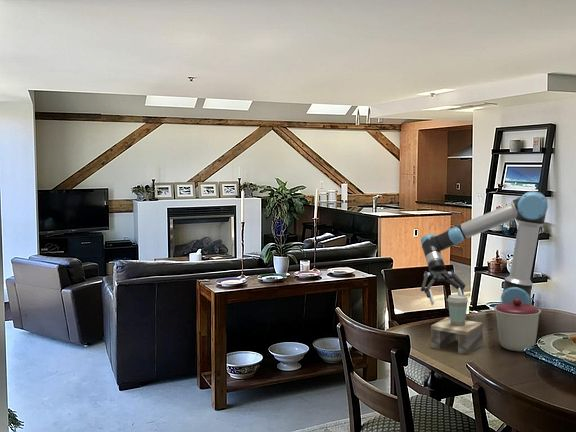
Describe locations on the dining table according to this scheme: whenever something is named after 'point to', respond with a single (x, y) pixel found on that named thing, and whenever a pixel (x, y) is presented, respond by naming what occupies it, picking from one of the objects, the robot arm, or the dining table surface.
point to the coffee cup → (457, 309)
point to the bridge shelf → (467, 335)
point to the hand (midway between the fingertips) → (447, 302)
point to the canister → (517, 324)
